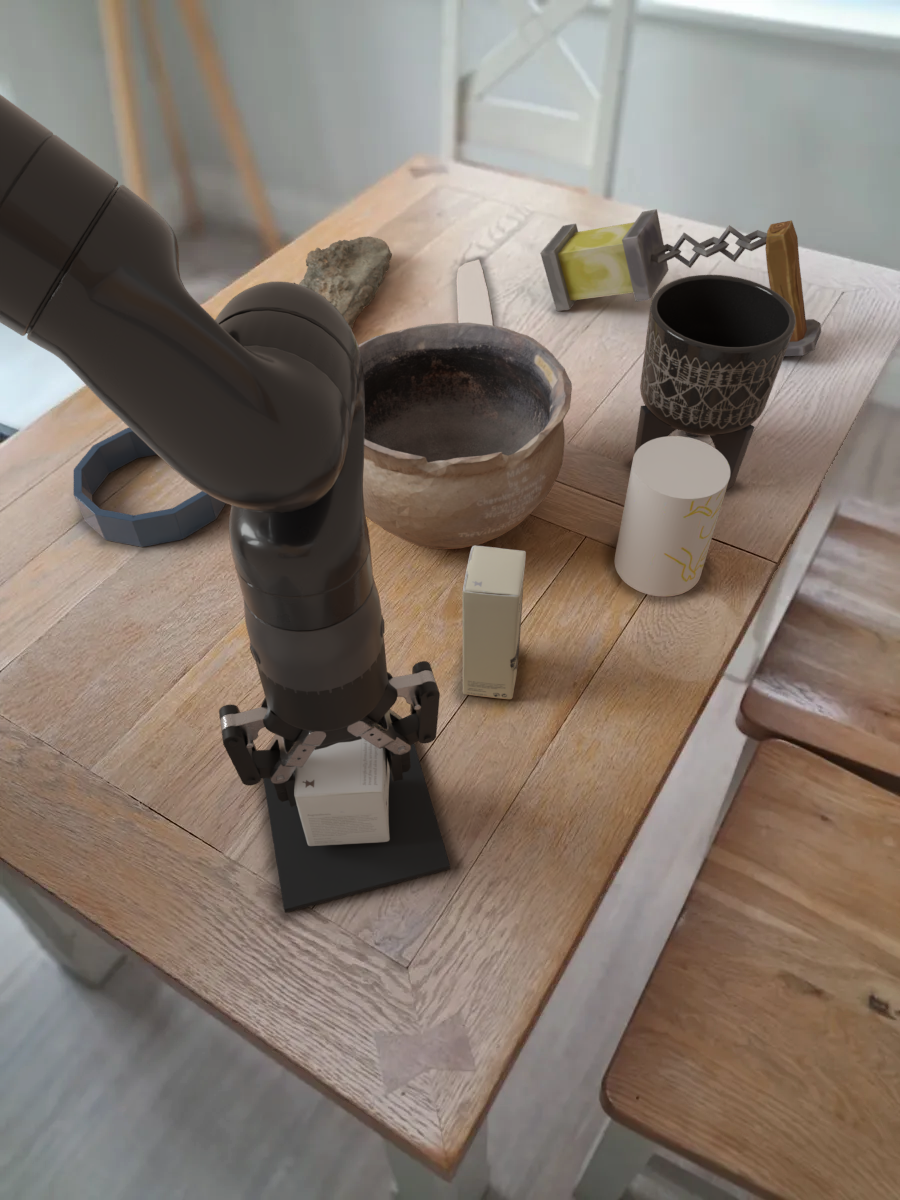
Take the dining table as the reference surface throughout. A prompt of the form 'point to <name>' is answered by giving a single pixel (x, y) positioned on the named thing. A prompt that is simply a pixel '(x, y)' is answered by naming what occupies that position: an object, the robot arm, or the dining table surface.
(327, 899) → the coaster
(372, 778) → the product carton
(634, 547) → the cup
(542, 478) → the ceramic bowl
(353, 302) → the long grey stone
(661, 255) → the lantern
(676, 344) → the planter
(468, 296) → the knife
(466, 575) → the box
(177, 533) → the faceted polygonal ring
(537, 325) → the dining table surface
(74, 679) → the dining table surface
